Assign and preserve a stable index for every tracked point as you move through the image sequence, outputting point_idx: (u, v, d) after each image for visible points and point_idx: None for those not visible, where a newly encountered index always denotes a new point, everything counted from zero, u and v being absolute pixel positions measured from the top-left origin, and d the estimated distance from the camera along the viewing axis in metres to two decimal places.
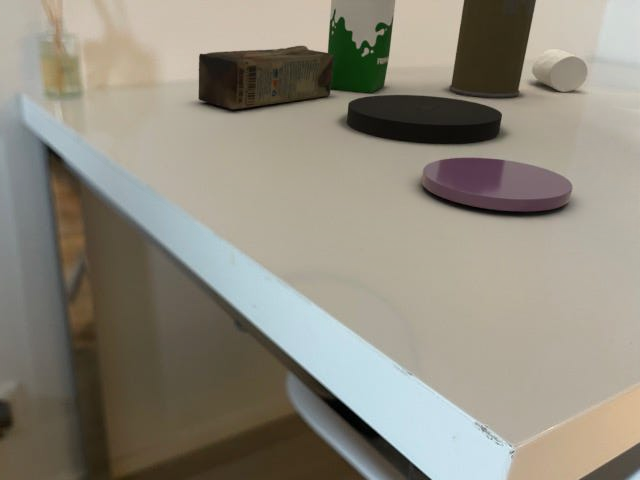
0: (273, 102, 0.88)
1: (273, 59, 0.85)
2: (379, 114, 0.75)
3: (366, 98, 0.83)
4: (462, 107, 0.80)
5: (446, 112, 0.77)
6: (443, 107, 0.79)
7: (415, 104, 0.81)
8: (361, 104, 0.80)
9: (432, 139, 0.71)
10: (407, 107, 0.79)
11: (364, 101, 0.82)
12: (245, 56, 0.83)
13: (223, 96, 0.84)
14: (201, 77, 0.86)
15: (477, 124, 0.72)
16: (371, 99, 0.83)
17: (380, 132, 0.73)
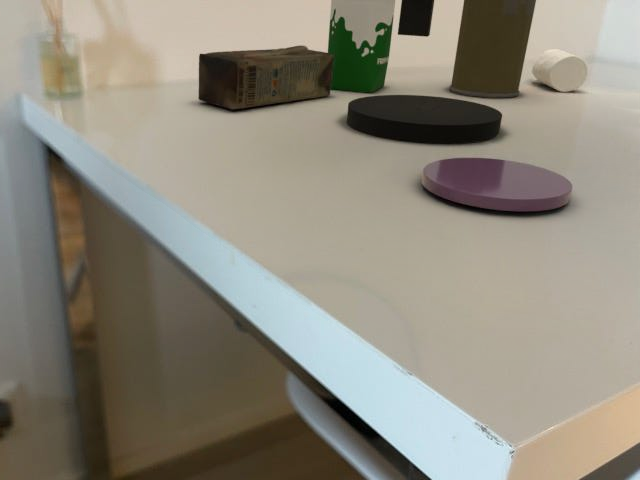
0: (273, 102, 0.88)
1: (273, 59, 0.85)
2: (379, 114, 0.75)
3: (366, 98, 0.83)
4: (462, 107, 0.80)
5: (446, 112, 0.77)
6: (443, 107, 0.79)
7: (415, 104, 0.81)
8: (361, 104, 0.80)
9: (432, 139, 0.71)
10: (407, 107, 0.79)
11: (364, 101, 0.82)
12: (245, 56, 0.83)
13: (223, 96, 0.84)
14: (201, 77, 0.86)
15: (477, 124, 0.72)
16: (371, 99, 0.83)
17: (380, 132, 0.73)
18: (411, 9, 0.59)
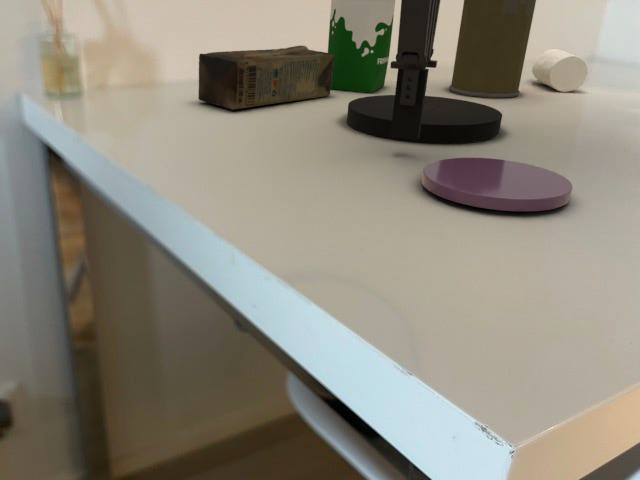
0: (273, 102, 0.88)
1: (273, 59, 0.85)
2: (379, 114, 0.75)
3: (366, 98, 0.83)
4: (462, 107, 0.80)
5: (446, 112, 0.77)
6: (443, 107, 0.79)
7: None
8: (361, 104, 0.80)
9: (432, 139, 0.71)
10: None
11: (364, 101, 0.82)
12: (245, 56, 0.83)
13: (223, 96, 0.84)
14: (201, 77, 0.86)
15: (477, 124, 0.72)
16: (371, 99, 0.83)
17: (380, 132, 0.73)
18: (403, 115, 0.65)
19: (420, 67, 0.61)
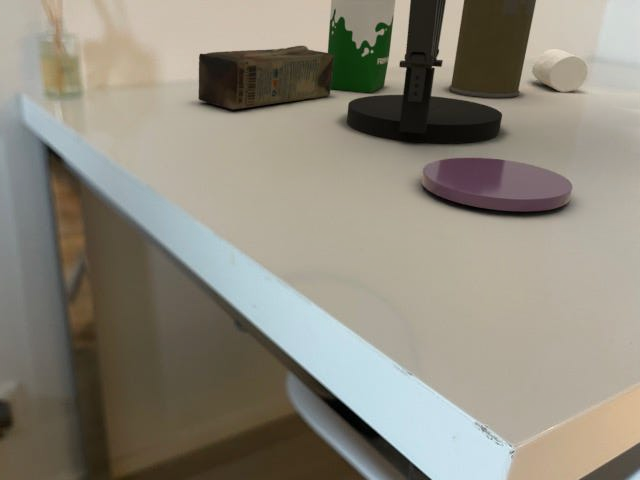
0: (273, 102, 0.88)
1: (273, 59, 0.85)
2: (379, 114, 0.75)
3: (366, 98, 0.84)
4: (462, 107, 0.80)
5: (446, 112, 0.77)
6: (443, 107, 0.79)
7: None
8: (361, 104, 0.80)
9: (432, 139, 0.71)
10: None
11: (364, 101, 0.82)
12: (245, 56, 0.83)
13: (223, 96, 0.84)
14: (201, 77, 0.86)
15: (477, 124, 0.72)
16: (371, 99, 0.83)
17: (380, 132, 0.73)
18: (410, 111, 0.69)
19: (427, 66, 0.66)
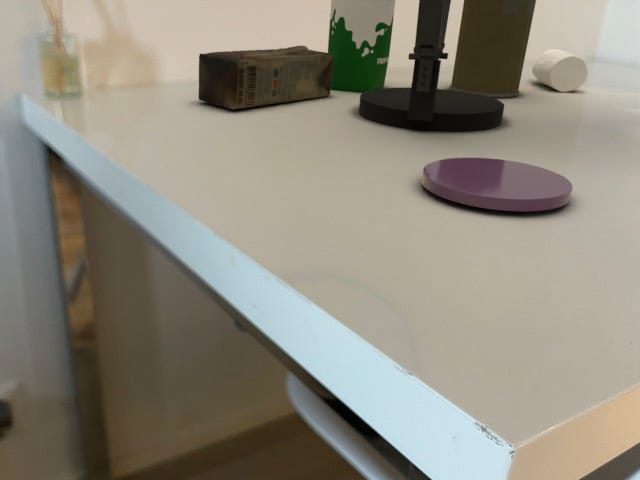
0: (273, 102, 0.88)
1: (273, 59, 0.85)
2: (389, 104, 0.80)
3: (377, 90, 0.89)
4: (467, 98, 0.85)
5: (452, 103, 0.82)
6: (449, 98, 0.85)
7: None
8: (372, 95, 0.85)
9: (438, 127, 0.77)
10: None
11: (375, 93, 0.87)
12: (245, 56, 0.83)
13: (223, 96, 0.84)
14: (201, 77, 0.86)
15: (480, 113, 0.77)
16: (382, 91, 0.88)
17: (389, 121, 0.79)
18: (418, 100, 0.75)
19: (434, 58, 0.71)
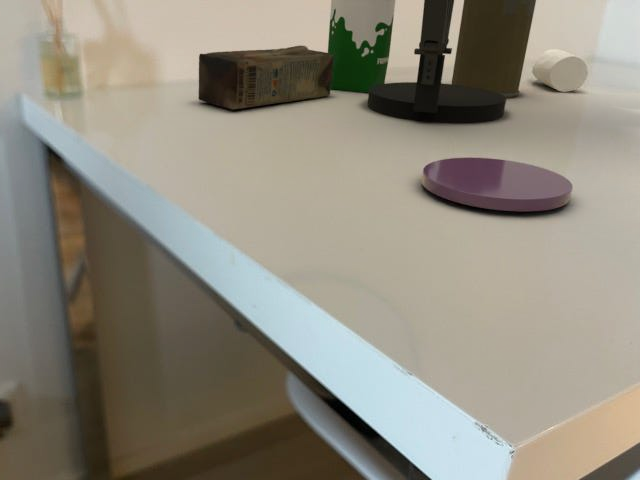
0: (273, 102, 0.88)
1: (273, 59, 0.85)
2: (396, 97, 0.85)
3: (385, 84, 0.93)
4: (471, 92, 0.89)
5: (456, 96, 0.86)
6: (454, 92, 0.89)
7: None
8: (380, 89, 0.90)
9: (442, 118, 0.81)
10: None
11: (383, 87, 0.92)
12: (245, 56, 0.83)
13: (223, 96, 0.84)
14: (201, 77, 0.86)
15: (482, 106, 0.81)
16: (390, 85, 0.93)
17: (396, 113, 0.83)
18: (423, 93, 0.79)
19: (438, 53, 0.76)
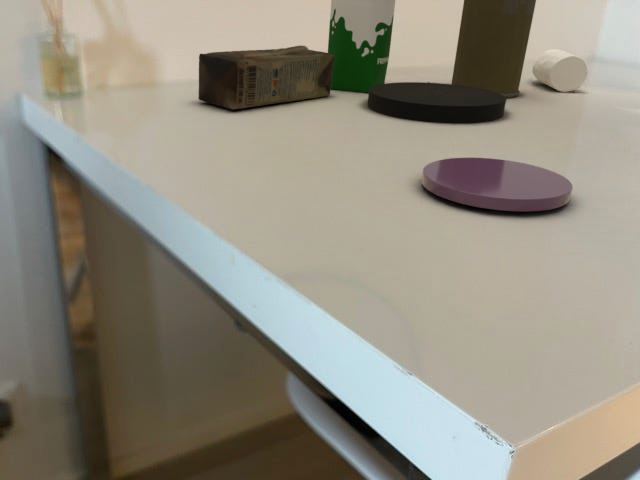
0: (273, 102, 0.88)
1: (273, 59, 0.85)
2: (396, 97, 0.85)
3: (385, 84, 0.93)
4: (471, 92, 0.89)
5: (456, 96, 0.86)
6: (454, 92, 0.89)
7: (429, 90, 0.90)
8: (380, 89, 0.90)
9: (442, 118, 0.81)
10: (421, 92, 0.89)
11: (383, 87, 0.92)
12: (245, 56, 0.83)
13: (223, 96, 0.84)
14: (201, 77, 0.86)
15: (482, 106, 0.81)
16: (390, 85, 0.93)
17: (396, 113, 0.83)
18: None
19: None
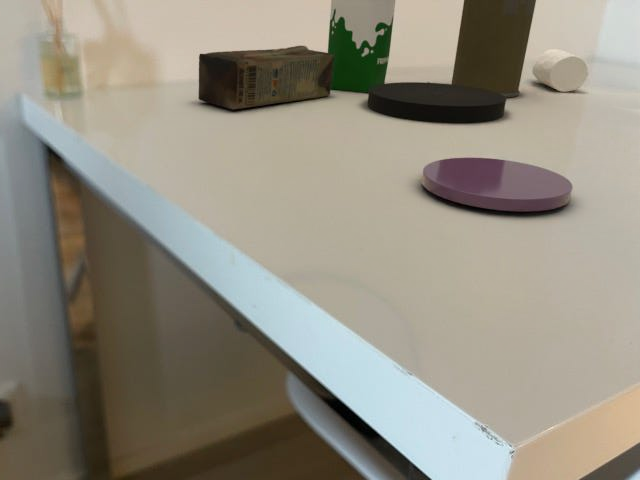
0: (273, 102, 0.88)
1: (273, 59, 0.85)
2: (396, 97, 0.85)
3: (385, 84, 0.93)
4: (471, 92, 0.89)
5: (456, 96, 0.86)
6: (454, 92, 0.89)
7: (429, 90, 0.90)
8: (380, 89, 0.90)
9: (442, 118, 0.81)
10: (421, 92, 0.89)
11: (383, 87, 0.92)
12: (245, 56, 0.83)
13: (223, 96, 0.84)
14: (201, 77, 0.86)
15: (482, 106, 0.81)
16: (390, 85, 0.93)
17: (396, 113, 0.83)
18: None
19: None
